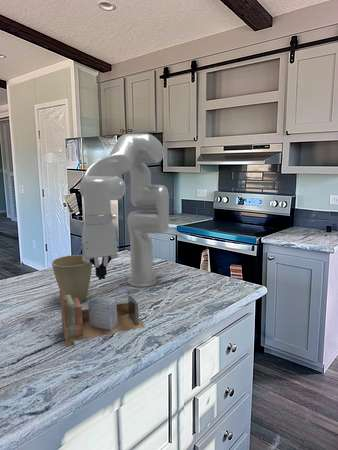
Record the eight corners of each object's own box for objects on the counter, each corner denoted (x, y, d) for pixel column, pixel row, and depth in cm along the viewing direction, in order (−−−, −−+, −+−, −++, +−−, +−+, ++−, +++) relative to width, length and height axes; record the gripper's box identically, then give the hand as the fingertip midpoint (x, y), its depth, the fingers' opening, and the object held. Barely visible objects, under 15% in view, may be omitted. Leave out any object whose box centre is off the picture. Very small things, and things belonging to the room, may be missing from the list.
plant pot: (62, 292, 144) (59, 254, 141) (98, 292, 143) (96, 254, 140) (48, 308, 129) (45, 266, 126) (89, 308, 129) (86, 266, 126)
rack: (134, 315, 123) (132, 275, 120) (145, 330, 112) (144, 287, 109) (62, 328, 114) (59, 286, 111) (66, 346, 103) (63, 300, 100)
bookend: (131, 314, 120) (130, 295, 119) (138, 324, 113) (138, 304, 112) (128, 315, 120) (127, 295, 118) (135, 325, 112) (135, 304, 111)
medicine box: (118, 324, 113) (117, 299, 111) (110, 331, 109) (109, 304, 107) (97, 321, 116) (95, 295, 114) (89, 327, 112) (87, 301, 110)
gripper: (119, 216, 112) (121, 271, 116) (71, 219, 107) (74, 277, 110) (126, 219, 106) (128, 278, 109) (74, 223, 100) (78, 285, 103)
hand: (101, 277), depth 110 cm, fingers closed
